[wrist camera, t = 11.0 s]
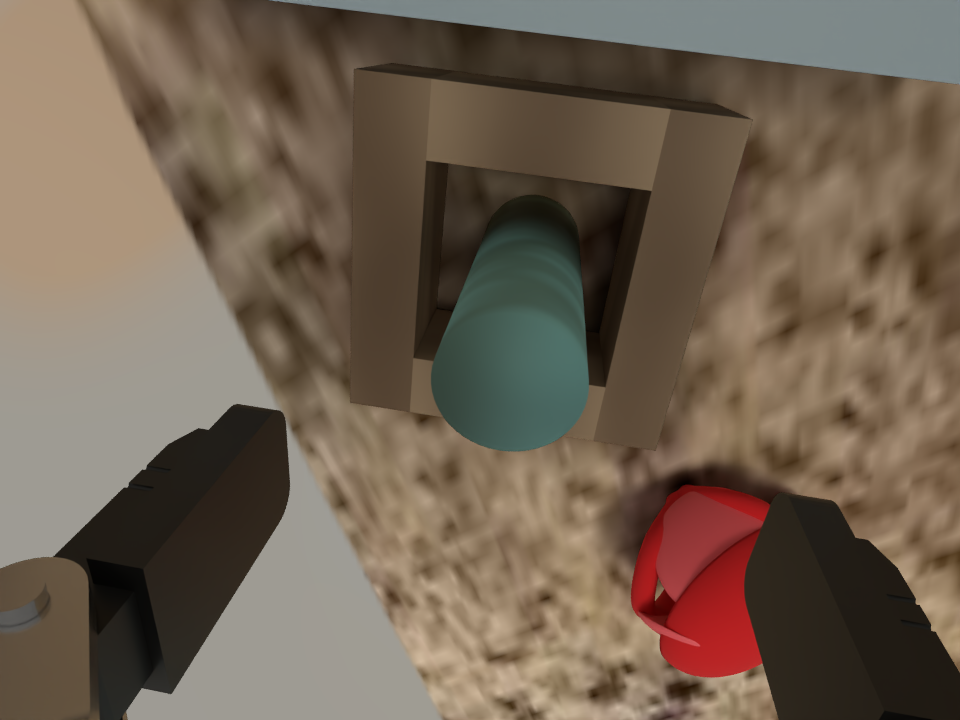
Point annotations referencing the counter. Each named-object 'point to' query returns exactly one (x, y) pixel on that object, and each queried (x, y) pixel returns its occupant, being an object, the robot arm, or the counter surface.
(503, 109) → the holed block
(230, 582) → the robot arm
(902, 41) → the wall
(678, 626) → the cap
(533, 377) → the dowel
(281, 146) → the counter surface
